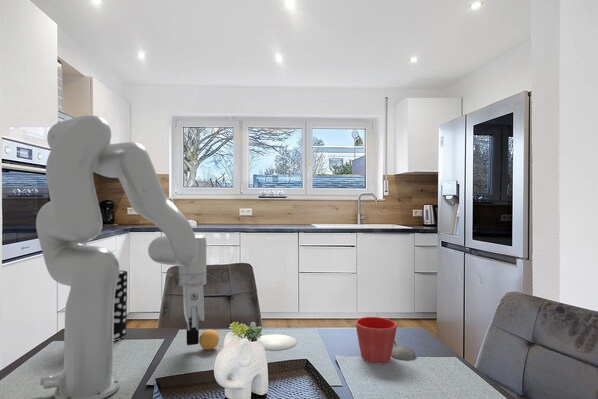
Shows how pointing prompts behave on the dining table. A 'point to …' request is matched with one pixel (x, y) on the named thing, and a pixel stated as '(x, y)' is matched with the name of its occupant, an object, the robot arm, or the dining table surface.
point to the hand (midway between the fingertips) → (192, 343)
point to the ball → (209, 339)
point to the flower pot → (376, 338)
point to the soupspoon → (402, 352)
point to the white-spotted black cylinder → (120, 306)
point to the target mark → (277, 342)
